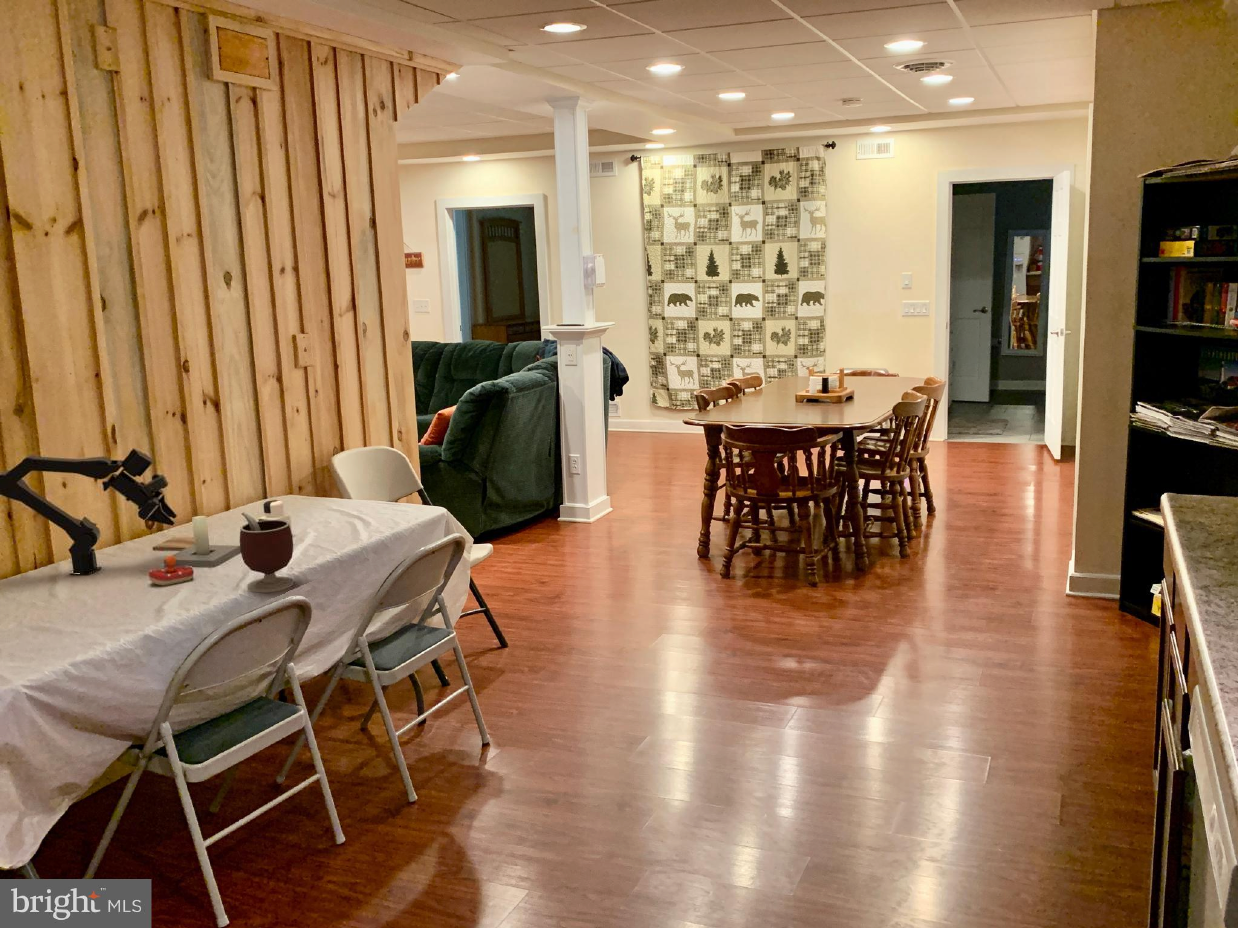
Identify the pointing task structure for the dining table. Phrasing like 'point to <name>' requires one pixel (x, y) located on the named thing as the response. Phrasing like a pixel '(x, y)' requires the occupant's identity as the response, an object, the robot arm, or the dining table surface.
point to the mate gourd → (266, 552)
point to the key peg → (201, 535)
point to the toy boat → (171, 573)
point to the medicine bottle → (275, 512)
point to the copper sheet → (175, 544)
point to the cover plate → (205, 556)
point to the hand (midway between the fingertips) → (174, 520)
